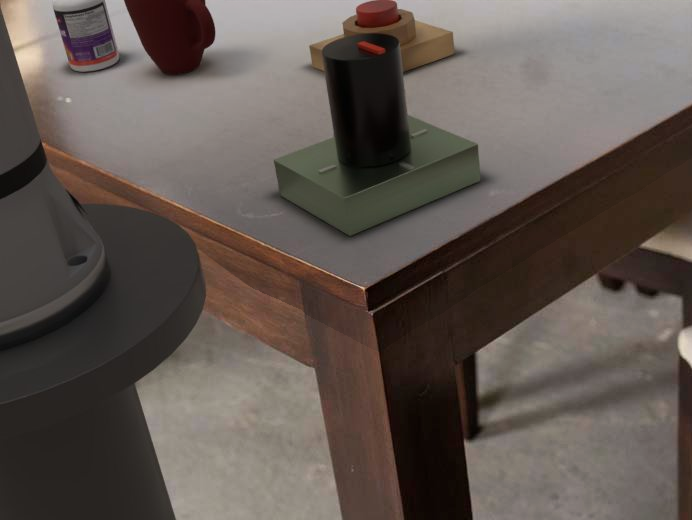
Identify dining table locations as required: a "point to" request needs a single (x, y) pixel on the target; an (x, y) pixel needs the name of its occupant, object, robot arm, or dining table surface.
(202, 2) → the mug
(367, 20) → the button
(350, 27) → the button block
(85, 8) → the pill bottle
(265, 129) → the dining table surface
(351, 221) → the panel
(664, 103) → the dining table surface
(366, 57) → the dial
